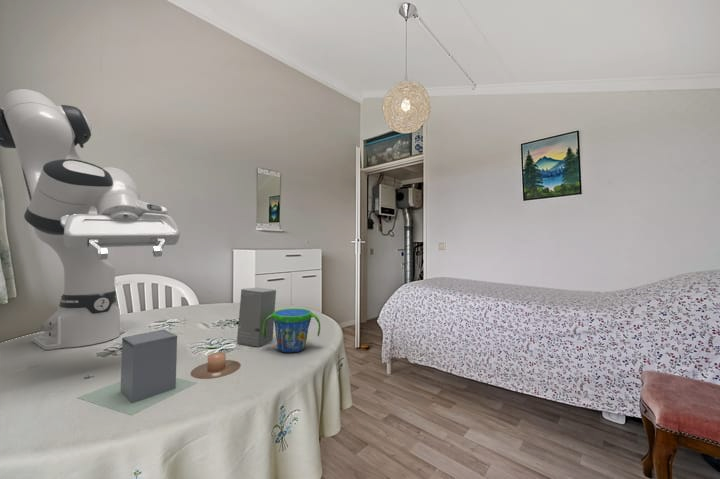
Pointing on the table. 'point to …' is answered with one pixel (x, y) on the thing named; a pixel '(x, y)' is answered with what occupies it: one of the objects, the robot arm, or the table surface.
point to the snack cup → (291, 328)
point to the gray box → (148, 364)
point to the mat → (119, 402)
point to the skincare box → (256, 316)
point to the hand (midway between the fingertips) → (132, 256)
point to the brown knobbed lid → (215, 367)
